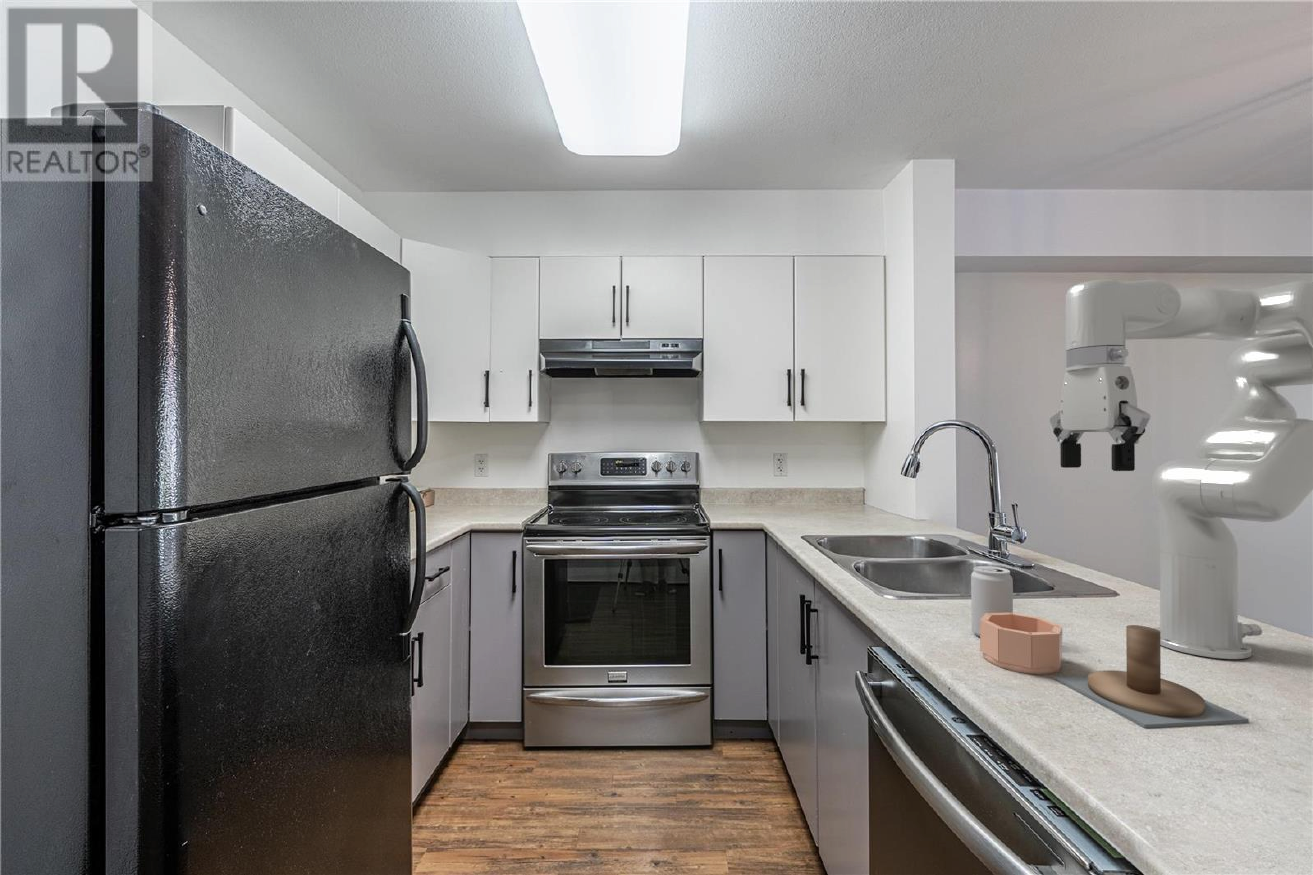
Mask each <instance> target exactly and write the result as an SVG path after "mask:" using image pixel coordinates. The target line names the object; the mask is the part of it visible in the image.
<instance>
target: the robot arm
mask: <svg viewBox="0 0 1313 875" xmlns="http://www.w3.org/2000/svg"><path fill="white" fill-rule="evenodd" d="M1065 294H1066V295H1065V372H1064V376H1063V381H1062V388H1061V392H1060V393H1061V394H1060V407H1059V408H1060V409H1059V410H1060V411H1058V412H1056V413H1055V414H1054V415H1052V416H1051V417H1050V418H1049V423H1050V425H1051V426H1052V429H1053V431H1052V432H1053V434H1054V436H1055V437H1056V438H1057V439H1056V442H1057V443H1058V444H1060V445H1059V446H1060V447H1059V448H1060V453H1059V454H1060V456H1059V457H1060V467H1061V468H1063V469H1064V468H1065V469H1066V468H1069V469H1070V468H1073V469H1074V468H1080V467H1082V444H1081V442H1079V440H1080V439H1081V437H1082V436H1083V434H1084V433H1107V432H1108V434H1109V436H1110V437H1111V438H1112V440H1113V441H1114V442H1115V443H1113V444H1111V448H1110V449H1111V470H1112V471H1113V472H1133V471H1135V468H1136V466H1135V465H1136V463H1135V462H1136V459H1135V458H1136V457H1135V456H1136V455H1135V454H1136V453H1135V451H1136V450H1135V448H1136V447H1135V446H1136V445H1138V444H1139V443H1140V438H1141V437H1142V436H1143V435H1144V433H1145V432H1146V427H1147V426H1148V424H1149V421H1150V419H1151V414H1150V413H1149V412H1147V411H1145V410H1143V409H1140V408H1138V400H1137V399H1138V398H1137V397H1138V396H1137V390H1136V384H1135V378H1134V375H1133V372H1132V369H1131V366H1127V365H1126V364H1127V361H1126V358H1127V357H1128V355H1129V351H1128V349H1126V341H1127V340H1128V341H1130V340H1180V339H1194V340H1196V339H1197V340H1198V339H1199V340H1215V341H1230V342H1231V341H1232V342H1241V341H1251V340H1257V339H1264V340H1259V341H1255V342H1251V343H1248V344H1247V343H1246V344H1245V345H1242V346H1241V347H1239V348H1237V349H1236V350H1234V351H1233V352H1232V353H1231V355H1230V356H1229V358H1228V360H1227V363H1226V375H1227V380H1228V382H1227V383H1228V388H1229V392H1230V393H1229V394H1230V398H1231V403H1230V405H1229V407H1228V408H1227V409H1226V410H1225V412H1223V413H1222V415H1221V416H1219V418H1218V419H1217V420H1216V421H1215V422H1214V423H1213V424H1212V425H1211V426H1210V427H1209V429H1208V430H1207V431H1205V433H1204V434H1203V435H1202V436H1201V438H1200V439H1199V440H1198V443H1197V444H1196V447H1195V456H1196V457H1188V458H1187V457H1186V458H1176V459H1172V460H1167V461H1166V462H1163V463H1162V464H1161V465H1159V466H1158V467H1157V468H1156V469H1155V471H1154V473H1153V474H1152V477H1151V491H1152V496H1153V499H1154V503H1155V506H1156V507H1155V508H1156V510H1157V518H1158V525H1159V526H1158V528H1159V577H1160V578H1159V591H1160V592H1159V599H1160V601H1159V603H1160V605H1159V608H1160V610H1159V612H1160V614H1159V615H1160V618H1159V620H1160V624H1159V625H1160V626H1156V627H1153V628H1154V629H1157V630H1159V631H1160V646H1162V647H1164V648H1167V649H1171V650H1173V651H1177V652H1181V653H1185V654H1189V655H1192V656H1193V655H1195V656H1199V657H1200V656H1201V657H1205V658H1212V659H1220V660H1222V659H1223V660H1245V659H1249V658H1250V657H1251V656H1252V648H1251V647H1250V645H1249V644H1247V643H1245V642H1244V641H1243V639H1244V638H1245V637H1246V636H1247V637H1257V636H1261V635H1262V634H1263V629H1262V628H1261V626H1260V625H1259V624H1257V623H1243V622H1240V621H1239V616H1238V615H1239V612H1238V610H1239V606H1238V604H1239V603H1238V602H1239V601H1238V600H1239V599H1238V598H1239V597H1238V593H1239V592H1238V588H1239V587H1238V578H1239V577H1238V576H1239V575H1238V569H1239V568H1238V558H1239V556H1238V544H1237V541H1236V538H1235V537H1234V534H1233V533H1232V531H1231V530H1230V529H1229V527H1228V526H1227V524H1226V523H1225V522H1224V520H1223V519H1228V520H1229V519H1231V520H1240V521H1248V522H1260V523H1272V522H1278V521H1279V522H1280V521H1282V520H1284V519H1286V518H1288V517H1289V516H1290V515H1291V514H1293V513H1295V511H1296V510H1297V508H1298V507H1299V506H1300V505H1301V504H1302V503H1303V502H1304V501H1305V500H1306V498H1307V497H1309V495H1310V493H1312V491H1313V420H1312V419H1308V418H1297V415H1298V414H1297V411H1296V409H1295V407H1294V406H1293V405H1292V404H1291V402H1290V401H1289V400H1287V398H1286V397H1284V396H1283V395H1282V394H1280V393H1279V392H1278V391H1277V387H1288V386H1289V387H1290V386H1291V387H1292V386H1304V385H1305V386H1307V385H1313V281H1311V280H1310V281H1309V280H1296V281H1291V282H1286V283H1280V284H1275V285H1270V286H1266V287H1260V288H1254V289H1246V290H1242V289H1228V288H1227V289H1226V288H1220V287H1210V286H1194V287H1187V288H1178V289H1177V288H1176V287H1175V286H1174V285H1172V284H1171V283H1169V282H1168V281H1165V280H1164V281H1163V280H1160V279H1145V280H1135V281H1120V280H1117V279H1112V278H1111V279H1110V278H1109V279H1108V278H1105V279H1095V280H1090V281H1089V280H1088V281H1085V282H1084V281H1083V282H1080V283H1077V284H1075V285H1072V286H1071V287H1069V289H1068V290H1067V292H1066V293H1065ZM1295 334H1297V335H1295ZM1298 334H1300V335H1298ZM1287 335H1289V336H1288V337H1287ZM1290 335H1295V336H1290ZM1281 336H1286V337H1281ZM1273 337H1279V338H1273ZM1280 337H1281V338H1280ZM1266 338H1267V339H1266ZM1268 338H1271V339H1268ZM1272 338H1273V339H1272ZM1078 442H1079V443H1078Z"/></svg>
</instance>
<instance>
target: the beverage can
mask: <svg viewBox="0 0 1313 875" xmlns="http://www.w3.org/2000/svg"><path fill="white" fill-rule="evenodd" d="M970 578H971V579H970V581H971V582H970V585H971V586H970V590H971V592H970V593H971V594H970V595H971V596H970V597H971V602H970V605H971V607H970V608H971V610H970V611H971V631H972V632H973V633H974V634H975V636H977V637H978V638H980V619H981V618H982V617H983V616H984V614H985V613H1014V590H1013V589H1014V588H1013V587H1014V585H1013V584H1014V583H1013V581H1014V578H1013V577H1012V576H1011V571H1010V570H1009V569H1007V568H1003V567H998V566H991V565H988V566H987V565H978V566H974V567H973V572H971V574H970Z"/></svg>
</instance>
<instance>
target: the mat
mask: <svg viewBox="0 0 1313 875" xmlns="http://www.w3.org/2000/svg"><path fill="white" fill-rule="evenodd" d="M1088 675H1089V674H1087V675H1068V676H1067V675H1065V676H1063V675H1062V676H1054V680H1055V681H1057V682H1058V683H1061V684H1063V685H1064V686H1066V687H1067V688H1070V689H1072V690H1074V691H1075V692H1077V693H1079V694H1081V695H1083V696H1084V697H1086V698H1088V699H1091V700H1092V701H1093V702H1095V703H1097V704H1099V705H1101V706H1103V707H1105V708H1107V709H1108V710H1110V711H1112V712H1114V713H1116V714H1117V715H1119V716H1122V717H1123V718H1125V719H1127V720H1129V721H1131V722H1133V723H1135V724H1137V725H1138V726H1139V727H1142V728H1144V729H1147V728H1148V729H1150V728H1166V727H1167V728H1168V727H1186V726H1190V727H1191V726H1205V725H1206V726H1207V725H1209V726H1210V725H1222V724H1224V725H1225V724H1241V723H1242V724H1246V723H1249V722H1250V719H1249V718H1247V717H1244V716H1242V715H1240V714H1238V713H1235V712H1233V711H1231V710H1229V709H1226V708H1225V707H1222V706H1219V705H1217V704H1216V703H1214V702H1210V701H1208V700H1206V699H1204V701H1205V712H1204V714H1202V715H1200V716H1198V717H1192V718H1174V717H1165V716H1158V715H1152V714H1148V713H1143V712H1139V711H1135V710H1132V709H1128V708H1125V707H1122V706H1119V705H1117V704H1114V703H1112V702H1109V701H1107V700H1105V699H1103V698H1101V697H1099V696H1098V695H1096V694H1095V693H1093V692H1092V691H1091V690H1090V689H1089V687H1088Z"/></svg>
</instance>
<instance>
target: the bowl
mask: <svg viewBox="0 0 1313 875" xmlns="http://www.w3.org/2000/svg"><path fill="white" fill-rule="evenodd" d="M979 640H980V641H979V645H980V646H979V647H980V648H979V651H980V652H981V653H982V656H983V659H984V660H986V662H989V663H990V664H992V665H994V666H996V667H1000V668H1003V669H1005V670H1009V671H1012V672H1017V673H1020V674H1021V673H1022V674H1029V675H1040V676H1041V675H1042V676H1043V675H1054V674H1056V673H1058V672H1060V671H1061V668H1062V661H1063V626H1062V625H1059V624H1058V623H1055V622H1052V621H1050V620H1048V619H1046V618H1043V617H1041V616H1034V615H1027V614H1022V613H1021V614H1020V613H1015V612H1013V613H985V614H984V616H983V617H982V618H981V619H980V637H979Z"/></svg>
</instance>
